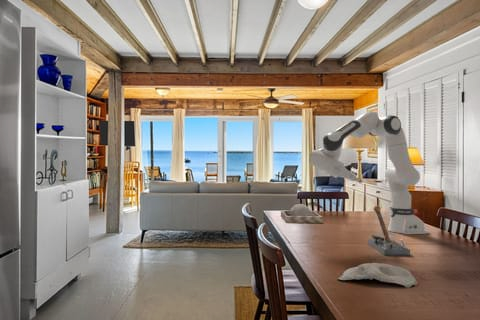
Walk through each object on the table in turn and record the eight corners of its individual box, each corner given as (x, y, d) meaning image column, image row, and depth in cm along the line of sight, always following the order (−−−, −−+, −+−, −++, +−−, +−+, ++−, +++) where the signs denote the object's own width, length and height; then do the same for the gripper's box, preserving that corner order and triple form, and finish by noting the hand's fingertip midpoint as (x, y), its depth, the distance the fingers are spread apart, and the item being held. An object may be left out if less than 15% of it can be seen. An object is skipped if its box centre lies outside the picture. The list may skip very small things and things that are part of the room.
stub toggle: (402, 248, 167) (399, 240, 168) (403, 247, 169) (400, 239, 170) (405, 248, 167) (402, 239, 167) (406, 247, 169) (403, 238, 169)
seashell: (297, 227, 261) (285, 210, 261) (313, 215, 262) (300, 198, 261) (302, 231, 246) (289, 213, 246) (318, 218, 246) (305, 201, 246)
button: (389, 240, 183) (390, 235, 183) (392, 241, 180) (392, 237, 180) (383, 240, 183) (383, 235, 183) (386, 241, 180) (386, 236, 180)
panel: (391, 244, 186) (391, 234, 186) (410, 255, 166) (410, 244, 166) (367, 244, 186) (368, 234, 186) (384, 255, 166) (384, 244, 166)
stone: (412, 266, 139) (422, 280, 124) (409, 284, 139) (418, 301, 125) (339, 251, 145) (340, 263, 131) (336, 268, 146) (337, 282, 131)
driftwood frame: (313, 216, 266) (313, 210, 266) (322, 222, 241) (322, 216, 241) (280, 215, 265) (280, 210, 265) (285, 222, 241) (285, 216, 241)
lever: (385, 247, 171) (371, 207, 174) (387, 245, 174) (373, 205, 178) (392, 246, 169) (378, 205, 172) (394, 244, 173) (380, 204, 176)
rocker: (381, 239, 184) (381, 236, 184) (383, 241, 180) (384, 238, 180) (371, 237, 183) (372, 234, 183) (374, 238, 180) (374, 236, 180)
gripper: (335, 161, 183) (360, 173, 177) (343, 166, 201) (366, 177, 195) (329, 172, 184) (354, 184, 177) (337, 176, 202) (360, 188, 195)
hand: (360, 181), depth 186 cm, fingers open, 8 cm apart
